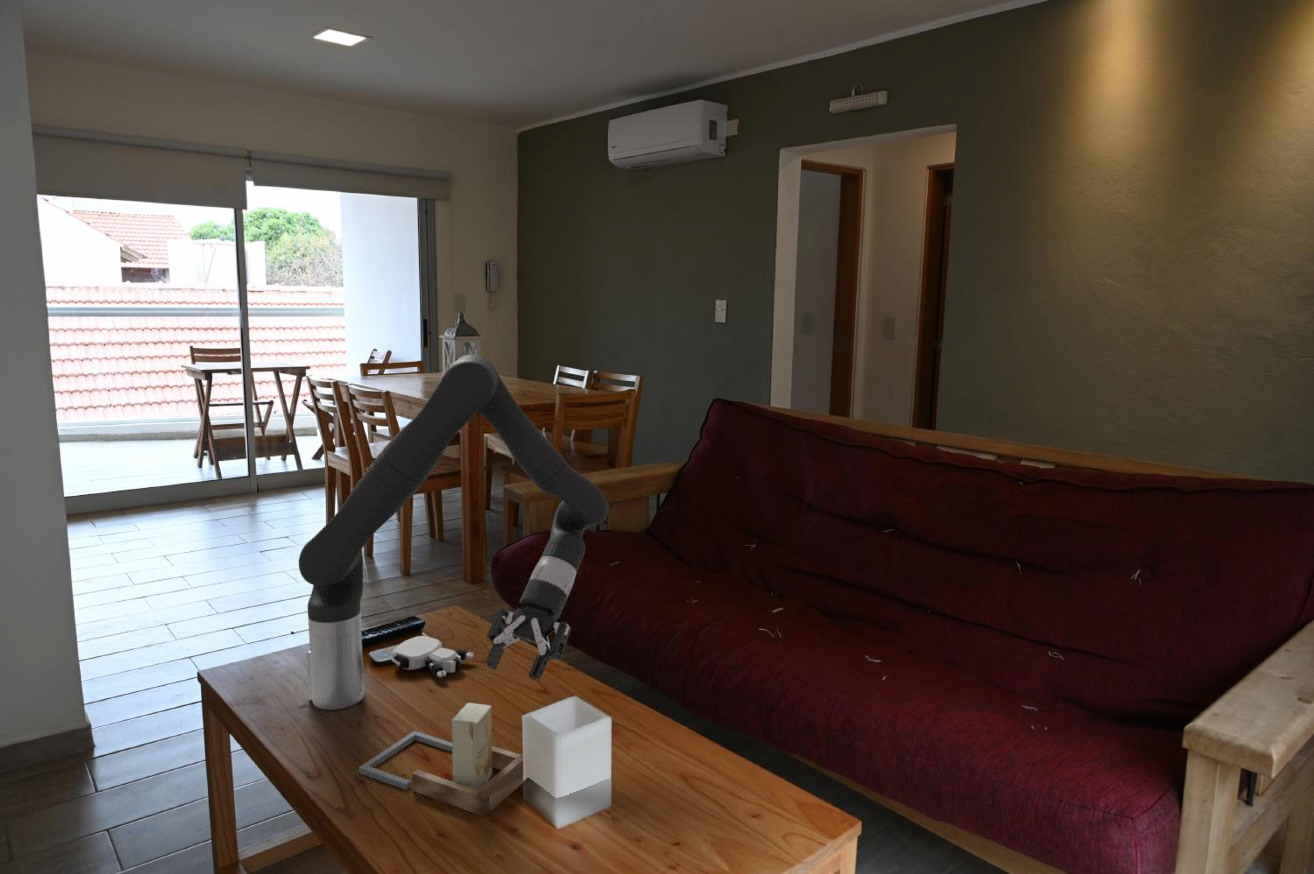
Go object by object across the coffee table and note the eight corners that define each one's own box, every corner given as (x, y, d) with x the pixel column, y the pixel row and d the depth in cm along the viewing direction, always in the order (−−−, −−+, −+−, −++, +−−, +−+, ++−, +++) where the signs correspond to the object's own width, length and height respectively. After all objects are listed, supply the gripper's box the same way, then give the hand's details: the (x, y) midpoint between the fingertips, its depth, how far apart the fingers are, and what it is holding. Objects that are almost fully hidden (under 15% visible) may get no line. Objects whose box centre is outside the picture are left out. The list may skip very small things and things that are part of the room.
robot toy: (477, 666, 177) (420, 648, 183) (478, 646, 176) (420, 629, 182) (440, 690, 166) (381, 671, 172) (441, 670, 165) (381, 650, 171)
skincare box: (477, 796, 131) (476, 723, 128) (451, 792, 131) (450, 720, 129) (493, 773, 137) (492, 704, 135) (468, 769, 138) (467, 700, 136)
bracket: (359, 772, 136) (358, 767, 136) (414, 735, 148) (414, 730, 147) (406, 789, 132) (406, 784, 132) (459, 750, 143) (459, 744, 143)
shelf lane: (412, 790, 132) (411, 767, 131) (463, 752, 143) (462, 731, 142) (484, 816, 126) (484, 792, 125) (531, 774, 137) (531, 752, 136)
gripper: (507, 571, 149) (467, 655, 141) (575, 584, 143) (537, 673, 135) (524, 590, 155) (487, 672, 147) (590, 604, 149) (555, 690, 141)
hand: (511, 673), depth 141 cm, fingers open, 8 cm apart
